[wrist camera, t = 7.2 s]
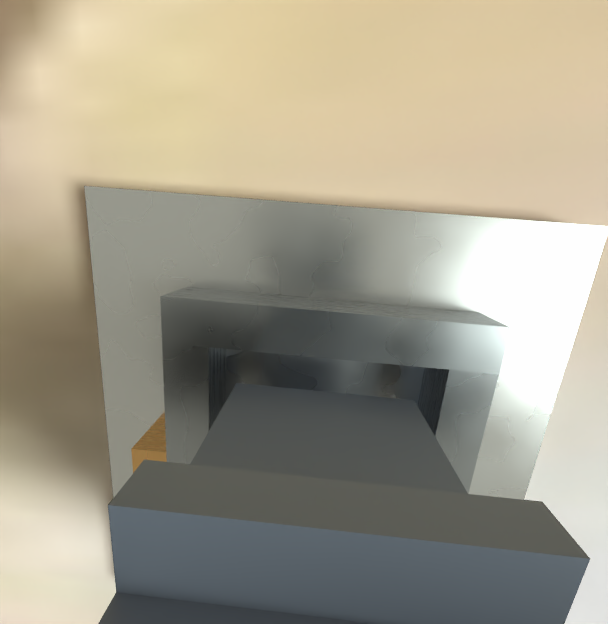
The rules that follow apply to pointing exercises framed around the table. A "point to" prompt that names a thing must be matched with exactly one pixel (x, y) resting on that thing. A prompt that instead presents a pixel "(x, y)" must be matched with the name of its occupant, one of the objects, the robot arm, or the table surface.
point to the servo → (330, 526)
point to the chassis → (334, 319)
